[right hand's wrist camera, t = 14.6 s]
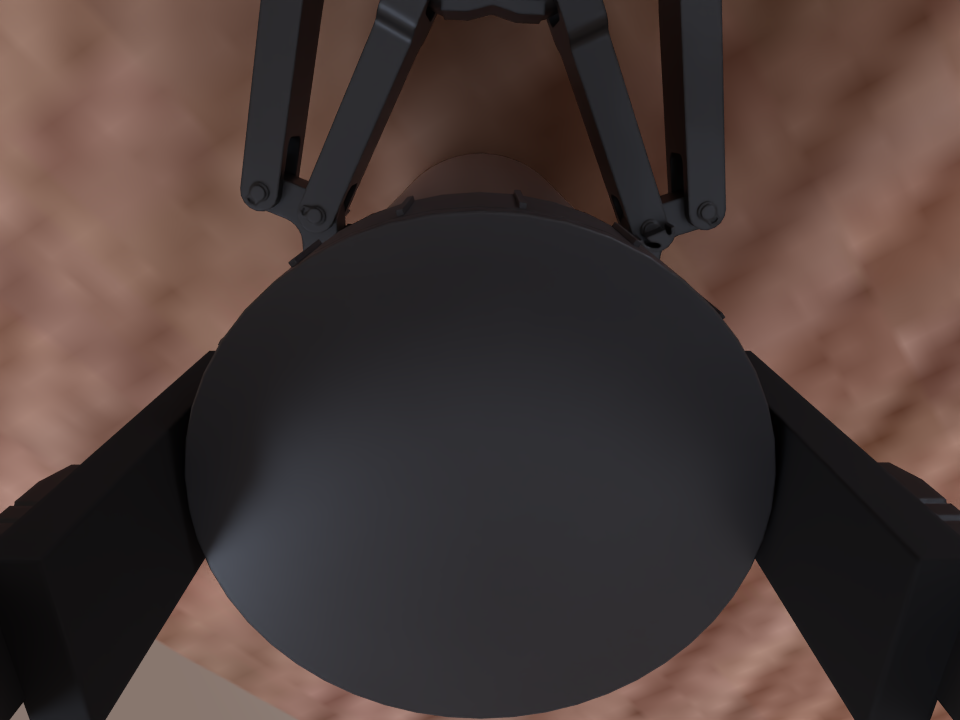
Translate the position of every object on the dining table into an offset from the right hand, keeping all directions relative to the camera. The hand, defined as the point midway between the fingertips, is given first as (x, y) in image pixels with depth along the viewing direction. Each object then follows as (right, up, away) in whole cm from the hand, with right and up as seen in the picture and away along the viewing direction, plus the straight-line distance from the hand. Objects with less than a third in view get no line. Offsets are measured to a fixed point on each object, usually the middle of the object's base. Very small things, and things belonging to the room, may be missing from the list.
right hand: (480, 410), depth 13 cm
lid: (0, -1, -3) cm, 3 cm away
